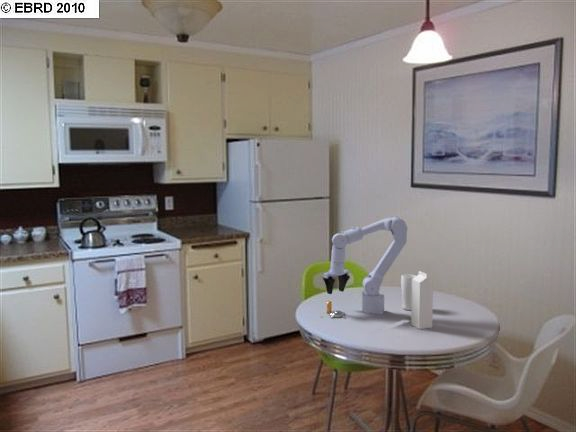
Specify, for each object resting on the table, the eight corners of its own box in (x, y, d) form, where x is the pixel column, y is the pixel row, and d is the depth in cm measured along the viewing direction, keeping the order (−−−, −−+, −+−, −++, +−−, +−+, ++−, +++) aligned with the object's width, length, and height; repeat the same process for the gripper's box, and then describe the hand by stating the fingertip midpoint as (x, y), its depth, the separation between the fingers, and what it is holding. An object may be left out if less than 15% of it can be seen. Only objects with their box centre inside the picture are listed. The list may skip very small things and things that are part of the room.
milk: (419, 329, 191) (419, 274, 188) (410, 324, 196) (411, 271, 194) (432, 327, 192) (433, 273, 190) (424, 322, 198) (425, 270, 196)
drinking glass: (399, 310, 215) (399, 277, 214) (401, 305, 222) (402, 273, 220) (415, 311, 213) (415, 278, 211) (417, 307, 219) (417, 274, 217)
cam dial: (351, 316, 204) (351, 304, 203) (338, 320, 198) (338, 308, 198) (333, 310, 211) (333, 299, 211) (320, 314, 206) (320, 303, 205)
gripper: (341, 258, 216) (339, 287, 218) (319, 261, 206) (317, 292, 208) (354, 261, 211) (351, 291, 213) (331, 264, 201) (329, 296, 203)
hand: (335, 292), depth 210 cm, fingers open, 7 cm apart
